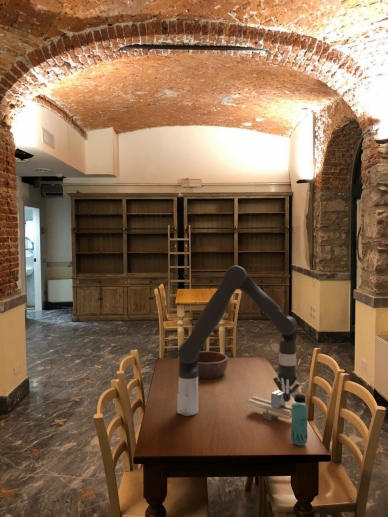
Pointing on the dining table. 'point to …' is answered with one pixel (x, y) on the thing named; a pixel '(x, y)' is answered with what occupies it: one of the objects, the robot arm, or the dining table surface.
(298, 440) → the beverage bottle
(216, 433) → the dining table surface
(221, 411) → the dining table surface
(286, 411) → the beam
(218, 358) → the wooden bowl
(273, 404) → the block
